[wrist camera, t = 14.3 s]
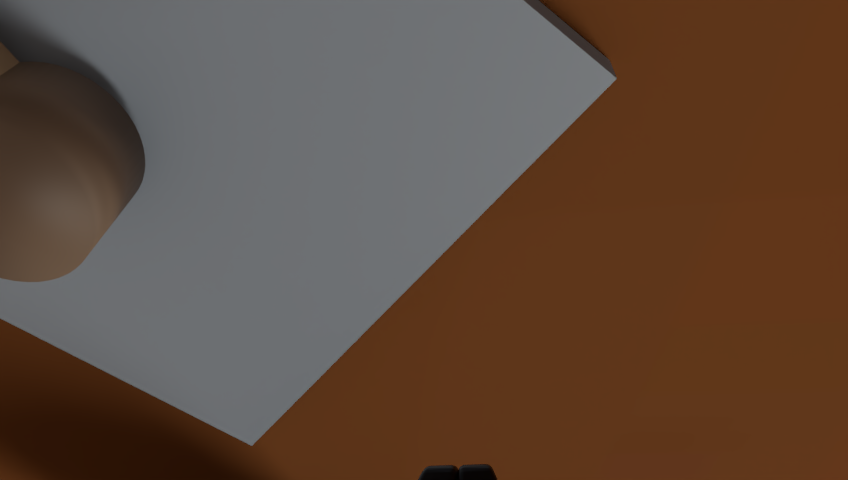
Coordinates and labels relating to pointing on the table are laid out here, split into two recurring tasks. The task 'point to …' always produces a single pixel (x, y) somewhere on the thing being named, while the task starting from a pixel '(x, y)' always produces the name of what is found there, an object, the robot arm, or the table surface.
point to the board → (287, 175)
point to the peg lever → (59, 167)
